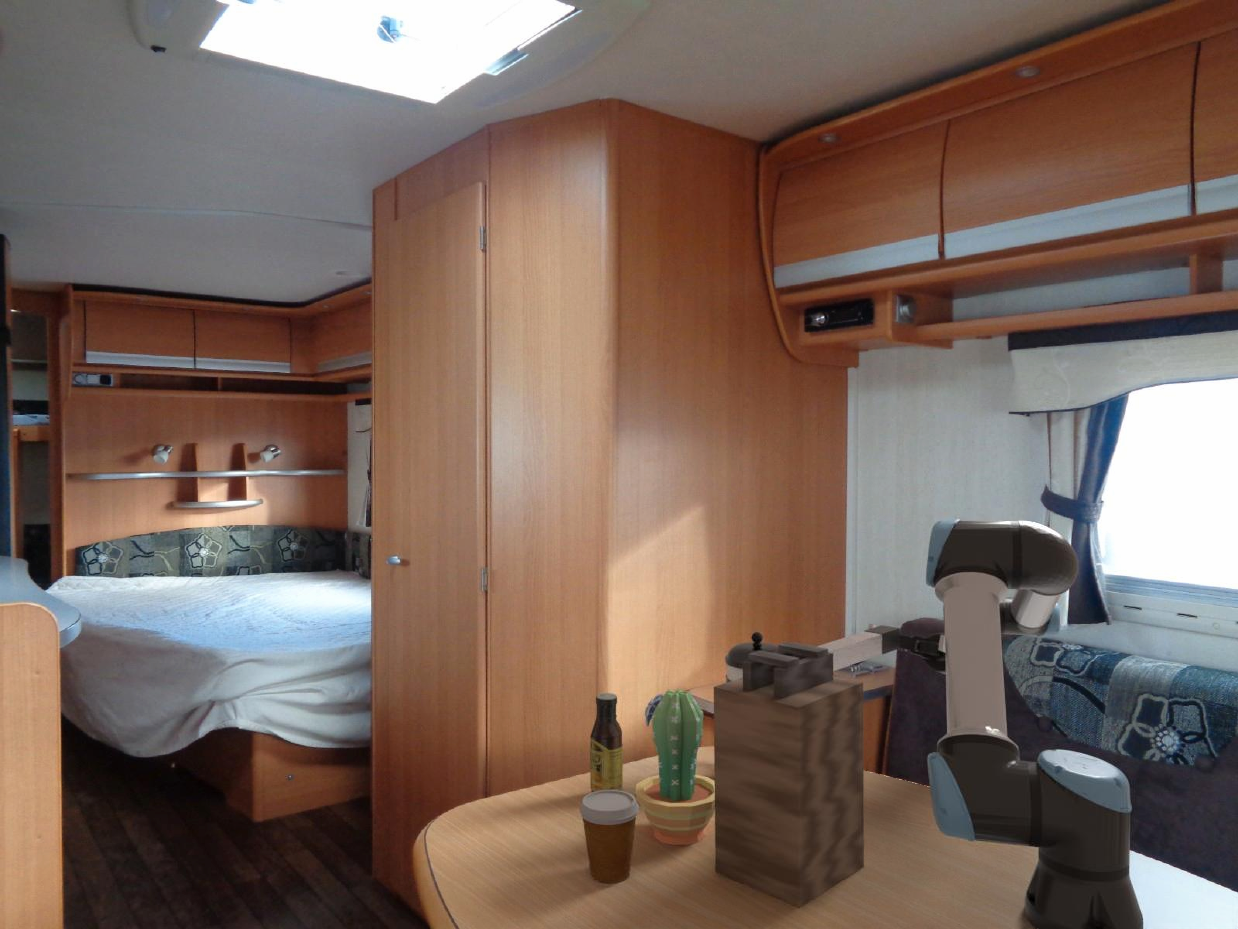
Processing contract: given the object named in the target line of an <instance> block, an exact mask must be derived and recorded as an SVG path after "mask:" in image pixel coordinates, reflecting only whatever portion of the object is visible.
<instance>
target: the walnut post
mask: <svg viewBox="0 0 1238 929" xmlns="http://www.w3.org/2000/svg"><path fill="white" fill-rule="evenodd" d="M801 655H802V656H807V658H804V659H801ZM713 738H714V739H713V744H714V745H713V748H714V749H713V753H714V756H713V757H714V759H713V760H714V762H713V763H714V765H713V766H714V781H715V810H714V831H715V832H714V838H715V839H714V848H715V849H714V850H715V852H714V853H715V854H714V858H715V859H714V860H715V873H716V874H718V875H720V876H723V877H726V878H727V879H730V880H733V881H734V882H737V883H739V884H741V885H745V886H747V887H748V888H751V889H753V890H756V891H759V892H761V893H763V894H766V895H768V896H770V897H772V898H775V899H778V900H780V901H782V902H784V903H786V904H789V905H791V906H793V907H796V908H802V907H803V906H805V905H806V904H808V903H810V902H811V901H812V900H814V899H815V898H817V897H819V896H821V895H822V894H823V893H825V892H827V891H828V890H829V889H831V888H833V887H834V886H836V885H837V884H839V883H841V882H842V881H843V880H845V879H847V878H848V877H851V875H853V874H855V873H856V872H857V871H860V870H861V869H862V868H864V866H865V858H864V857H865V854H864V853H865V852H864V851H865V848H864V847H865V835H864V834H865V833H864V831H865V827H864V826H865V825H864V824H865V823H864V820H865V819H864V818H865V816H864V814H865V812H864V807H865V804H864V803H865V801H864V799H865V798H864V791H865V790H864V785H865V784H864V782H865V780H864V770H865V769H864V763H865V762H864V682H863V681H859V680H858V681H857V680H853V679H849V678H845V677H840V676H839V677H838V676H834V671H833V653H829V652H828V649H826V648H821V647H817V646H814V645H811V644H810V645H809V644H805V643H798V642H793V641H792V642H791V641H787V642H782V643H780V644H778V651H776V652H773V653H771V652H766V651H761V650H759V651H756V652H753V653H749V654H748V660H747V661H744V662H743V677H742V678H739V679H736V680H733V681H730V682H727V683H726V682H724V683H722V684H718V685H715V686H713Z"/></svg>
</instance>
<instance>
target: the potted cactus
mask: <svg viewBox="0 0 1238 929" xmlns="http://www.w3.org/2000/svg"><path fill="white" fill-rule="evenodd" d="M644 717H645V726H646V727H647V728H648V727H649V725H650V723H651V725H652V726H651V727H652V740H653V742H654V745H655V749H656V752H657V759H658V774H657V775H652V776H648V777H645V778H644V779H643V780H641V781H640V782H638V783H637V784H635V795H636V797H635V798H636V802H637V804H639V805H641V806H642V808H643V812H644V815H645V818H646V820H647V821H648V823H649V824H650V825H651V826H652V828H653V837H654V838H655V839H656V840H658V841H659V842H661V843H664V844H669V845H671V846H672V845H673V846H686V845H687V846H688V845H690V844H695V843H698V842H700V841H701V840H702V839H703V838H705V832H704V829H705V828H707V825H708V824H709V823H710V822H711V820H712V819H713V816H714V814H715V780H714V779H712V778H710V777H707V776H704V775H700V774H696V773H697V772H696V771H697V770H696V769H697V768H696V767H697V757H698V756H697V755H698V751H699V747H700V744H701V741H702V738H703V728H704V711H703V710H702V709H701V706H700V705H699V703H698V702H697V701H696V699H695V698H694V697H693V695H692V694H691V692H690V690H685V691H683V690H682V688H677V689H676V690H675V691H674V690H672V689H667V691H665V693H660V694H657V695H656V696H654V697H653V698H651V699H650V701H649V702H648V703H647V706H646V707H645V712H644Z"/></svg>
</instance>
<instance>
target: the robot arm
mask: <svg viewBox="0 0 1238 929" xmlns="http://www.w3.org/2000/svg"><path fill="white" fill-rule="evenodd" d="M926 561H927V562H926V568H925V571H926V572H925V583H926V585H927V586H929V587H931V588H934V594H935V596H936V599H938V601H940V602H942V603H943V605H942V606H943V607H942V608H943V609H942V611H943V613H942V614H943V632H936V633H932V634H931V635H929V636H928V637H922V636H917V635H911V636H906V635H903V634H900V648H899V649H897V650H899V651H902V652H903V653H908V654H911V655H915V656H919V657H920V658H921V659H922V661H923V662H924V664H925V665H926V667H927V668H929V669H931V670H932V671H935V672H937V673H941V674H944V675H945V684H946V685H945V688H946V690H945V691H946V694H945V695H946V727H947V728H946V729H947V730H946V734H945V735H944V736H943V737H941V738H940V739H939V740H938V741H937V743H936V744H937V745H936V752H935V751H934V752H930V753H929V754H928V755H927V773H928V779H929V783H928V784H929V791H930V797H931V799H930V800H931V805H932V810H933V811H932V813H933V816H934V821H935V825H936V827H937V830H939V832H940V833H941V834H943V835H944V836H946V837H951V838H956V839H963V840H967V841H969V842H975V841H976V842H985V843H995V844H996V843H997V844H1004V845H1005V844H1006V845H1012V846H1013V845H1014V846H1023V847H1032V848H1038V850H1037V851H1038V853H1037V854H1038V857H1037V859H1038V860H1037V864H1036V866H1035V869H1034V870H1033V874H1032V875H1031V878H1030V882H1029V883H1028V886H1027V888H1026V889H1027V890H1026V892H1025V897H1024V913H1025V916H1026V918H1027V920H1028V921H1029V922H1030V924H1032V925H1033V926H1034V928H1036V929H1144V915H1143V913H1142V910H1141V908H1140V907H1141V906H1140V905H1139V904H1140V903H1139V901H1138V899H1137V898H1138V897H1137V895H1136V892H1135V889H1134V887H1133V883H1132V880H1131V877H1130V861H1131V860H1130V858H1131V856H1130V855H1131V853H1130V852H1131V851H1130V850H1131V847H1130V846H1131V845H1130V844H1131V843H1130V840H1131V836H1130V835H1131V812H1132V811H1133V810H1132V809H1133V807H1132V803H1131V792H1130V783H1129V780H1128V778H1127V777H1126V775H1125V773H1123V772H1122V771H1121V769H1119V768H1118V767H1116V766H1114V765H1113V764H1111V763H1109V762H1107V761H1106V760H1103V759H1100V758H1099V757H1095V756H1092V755H1090V754H1085V753H1082V752H1077V751H1073V750H1067V749H1058V748H1057V749H1055V748H1054V749H1052V750H1051V749H1046V750H1043V751H1041V752H1040V753H1039V756H1037V762H1036V761H1027V760H1021V759H1020V749H1019V745H1017V744H1016V743H1015V741H1013V740H1011V739H1010V738H1009V737H1008V728H1007V727H1008V726H1007V710H1006V696H1005V693H1006V692H1005V680H1004V678H1005V677H1004V664H1003V663H1004V661H1003V649H1002V647H1003V646H1002V644H1003V643H1002V635H1020V636H1021V635H1022V636H1036V637H1040V638H1041V637H1050V636H1051V637H1052V636H1053V637H1054V636H1057V635H1058V633H1059V632H1060V628H1061V627H1060V626H1061V613H1060V612H1061V611H1060V610H1061V609H1060V606H1059V603H1058V601H1059V600H1060V597H1061V596H1062V595H1063V594H1065V593H1066V592H1068V591H1069V590H1070V589H1071V588H1072V587H1073V585H1074V584H1075V581H1076V580H1077V577H1078V575H1079V569H1080V568H1079V567H1080V566H1079V565H1080V564H1079V559H1078V555H1077V553H1076V551H1075V549H1074V548H1073V546H1072V545H1071V543H1070V542H1069V541H1068V540H1067V539H1066V538H1064V537H1063V535H1062V534H1060V533H1058V532H1057V531H1055V530H1054V529H1052V528H1050V527H1049V526H1045V525H1043V524H1040V523H1038V522H1033V521H1028V520H963V519H961V518H957V519H947V520H946V519H945V520H944V519H943V520H939V521H937V522H936V523H934V525H933V526H932V528H931V532H930V536H929V543H928V550H927V559H926ZM1009 590H1014V594H1013V597H1008V595H1009ZM877 626H878V625H875V624H874V623H869V624H868V629H871V628H874V627H877ZM868 629H867V630H868Z"/></svg>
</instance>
